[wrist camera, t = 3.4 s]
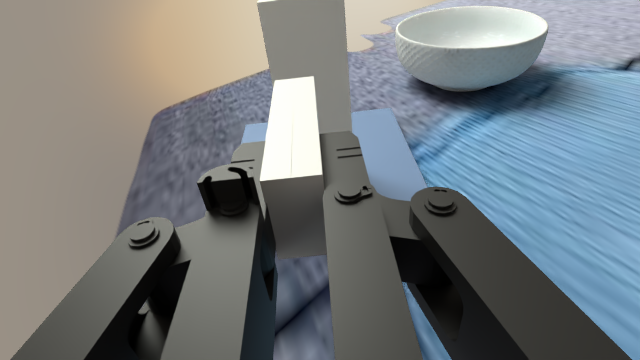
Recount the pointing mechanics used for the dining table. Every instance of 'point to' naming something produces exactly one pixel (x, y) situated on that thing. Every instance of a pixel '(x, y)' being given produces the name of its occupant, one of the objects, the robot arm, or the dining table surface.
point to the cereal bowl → (469, 45)
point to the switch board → (375, 152)
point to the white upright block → (311, 53)
